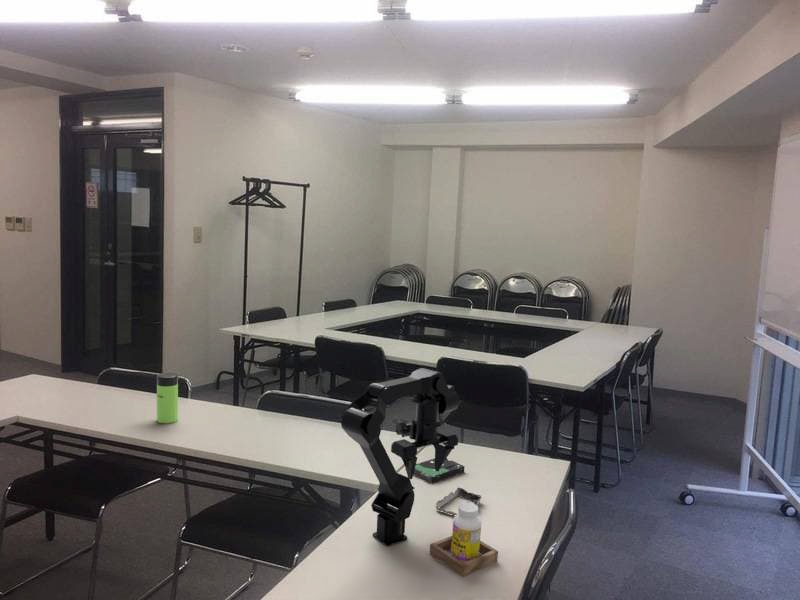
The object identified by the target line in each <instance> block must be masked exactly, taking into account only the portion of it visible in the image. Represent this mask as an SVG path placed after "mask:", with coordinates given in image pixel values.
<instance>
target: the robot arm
mask: <svg viewBox="0 0 800 600" xmlns="http://www.w3.org/2000/svg"><path fill="white" fill-rule="evenodd" d="M413 395H415V396H413ZM408 396H413V398H411V403H415V404H416V414H415V418H413V419H412V420H411V422H409V423H406V422H405V421H399V422H396V423H395V424H396V425H395V432H396V435H398V436H401V438H403V439H399V440H396V441H393V442H392V443H391V447H390V452H391V453H392V454H394V455H396V456H397V457H399V458H400V459H401V460H402V462H403V465H404V468H405V471H406V475H407V476H405V475H404V474H401V473H399V472H397V470H396V469H395V467H394V465H393V462H392V459H390V456H389V455H388V453H387V451H386V448H385V447H384V444H383V443H382V440H381V439H380V435H381V433H382V428H381V425H382V424H383V422H384V420H385V419H386V415H387V413H386V412H387V411H386V410H387V405H388V404H389V402H390V401H393V400H397V399H402V398H405V397H408ZM374 401H375V402H376V409H375V410H374V412H373V413H371V412H369V411H365V410H363V409H365V408H367V406H368V405H370V404H372V402H374ZM460 403H461V399H460V396H459V394H458V393H457V392H456V390H455V386H454V385H451V384H447V382H446V380H445V378H444V375H443V373H442V372H440V371H436V370H431V369H428V368H425V367H424V368H423V367H420V368H418V369H416V370H414V371H412V372H411V374H410V375H409V376H405V377H401V378H397V379H391V380H386V381H384V382H374V383H370V384H369V385H368V386H367V388H366V390H365V391H364V392H363V393H362V394H360V395H358V396H356V398H355V399H353V400H352V401H351V403H350V404H349V406H348V407H347V409H346V410H345V412H344V413H343V415H342V418H341V421H340V424H341V429H342V430H343V431H344V433H346V434H347V436H348V437H350V439H352V440H353V441H355V442H356V443H357V444H358V445H359V447H360V448H361V450H362V452H363V454H364V455H365V457H366V459H367V462H368V463H369V465H370V467H371V469H372V470H373V473H374V474H375V476H376V478H377V480H378V482H379V484H378V487H377V491H378V493H377V495H376V496H375V498H374V500H373V501H372V503H371V505H370V506H371V509H372V512H375V513H377V515H376V519H377V521H376V532H372V536H373V537H374V538H375V539H376V540H378V541H379V542H381V543H382V544H384V545H385V546H387V547H389V546H393V545H394V544H398V543H400V542H403V541H406V540H408V536H407V534H405V533H406V532H405V530H406V529H405V528H406V520H407V519H409V518H410V517H411V514H412V509H413V507H414V506H413V505H414V502H415V496H416V495H415V491H414V490H415V487H414V486H413V484H412V482H411V480H413V477H414V476H415V475H414V471H415V466H416V464H417V462H418V456H417V454H418V450H419V449H423V448H428V447H431V446H432V447H433V449H434V458H435V471H437V472H438V471H439V470H440V468H441V466H442V465H443V463H444V461H445V460H446V458H447V459H448V456H449V455H450V454H451V452H452V450H454V449H455V447H456V446H458V445H459V437H458V435H457V434H456V433H455V432H452V431H450V430H448V429H441V430H438V428H439V427H442V422H440V421H439V415H442V414H445V413H448V412H452V411H455V410H457V409H458V407H460ZM405 437H409V439H410V440H414V441H413V442H411V441H409V440H407V439H404V438H405Z"/></svg>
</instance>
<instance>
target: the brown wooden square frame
mask: <svg viewBox="0 0 800 600" xmlns="http://www.w3.org/2000/svg"><path fill="white" fill-rule="evenodd" d="M451 545H452V535H450V536H447V537H445V538H442V539H439V540H438V541H435V542H431V543H430V545H429V555H431V556H432V557H434V558H435V559H436V560H438V561H439V562H441V563H442V564H444V565H445V566H447V567H448V568H450V569H451V570H452V571H454V572H455V573H457V574H458V575H460V576H461V577H465V576H467V575H470V574H471V573H473V572H476V571H479V570H481V569H483V568H485V567H487V566H489V565H491V564H493V563H496V562H498V558H499V556H498V555H499V551H498V550H497V549H495V548H493V547H492V546H490V545H489V544H487V543H485V542H484V541H482V540H480V547H479V556H478V557H476V558H474V559H471V560H469V561H467V562H464V563H463V562H462V561H460V560H459V559H457V558H456V557H454V556H453V555H451V553H449V552H448V550H451Z"/></svg>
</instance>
